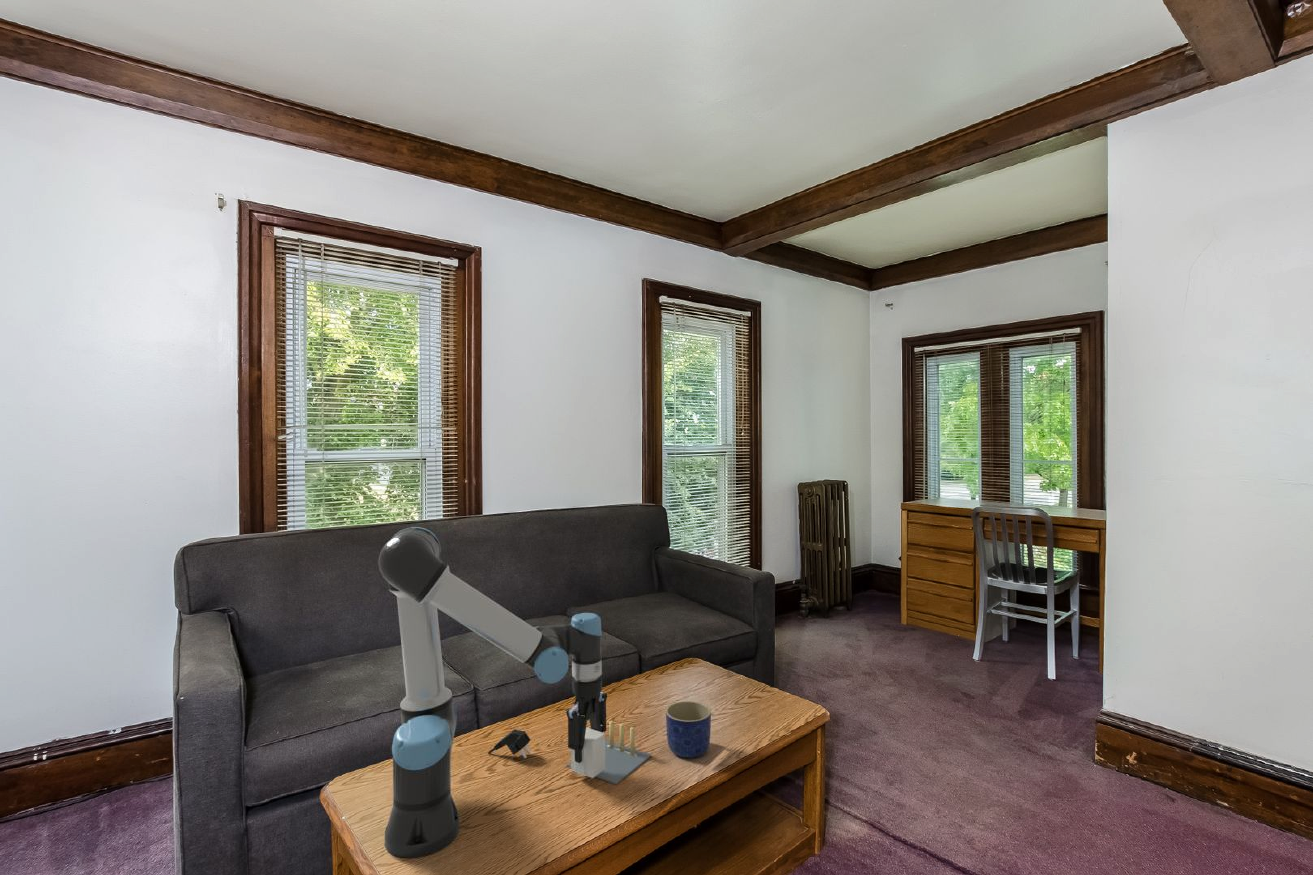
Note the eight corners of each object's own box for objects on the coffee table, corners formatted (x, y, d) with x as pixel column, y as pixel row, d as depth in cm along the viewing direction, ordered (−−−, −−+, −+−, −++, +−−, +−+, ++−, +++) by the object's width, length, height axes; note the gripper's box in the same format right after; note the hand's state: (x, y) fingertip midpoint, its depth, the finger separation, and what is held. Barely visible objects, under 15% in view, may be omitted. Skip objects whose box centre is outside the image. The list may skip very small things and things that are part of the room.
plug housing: (592, 777, 151) (592, 741, 151) (571, 769, 155) (570, 734, 155) (605, 768, 155) (605, 733, 155) (584, 760, 159) (583, 726, 159)
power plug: (491, 745, 170) (523, 721, 168) (507, 768, 169) (539, 744, 167) (482, 755, 164) (514, 731, 162) (498, 779, 163) (531, 755, 161)
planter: (720, 749, 168) (720, 709, 168) (691, 767, 159) (691, 725, 159) (686, 734, 177) (685, 697, 177) (656, 751, 168) (656, 711, 168)
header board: (616, 784, 152) (615, 754, 152) (567, 766, 160) (566, 738, 160) (651, 755, 165) (651, 728, 165) (604, 740, 174) (604, 714, 174)
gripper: (575, 692, 145) (576, 790, 145) (620, 667, 160) (621, 756, 160) (551, 685, 149) (552, 780, 149) (597, 662, 164) (598, 748, 164)
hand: (588, 767), depth 155 cm, fingers closed on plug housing, 5 cm apart
